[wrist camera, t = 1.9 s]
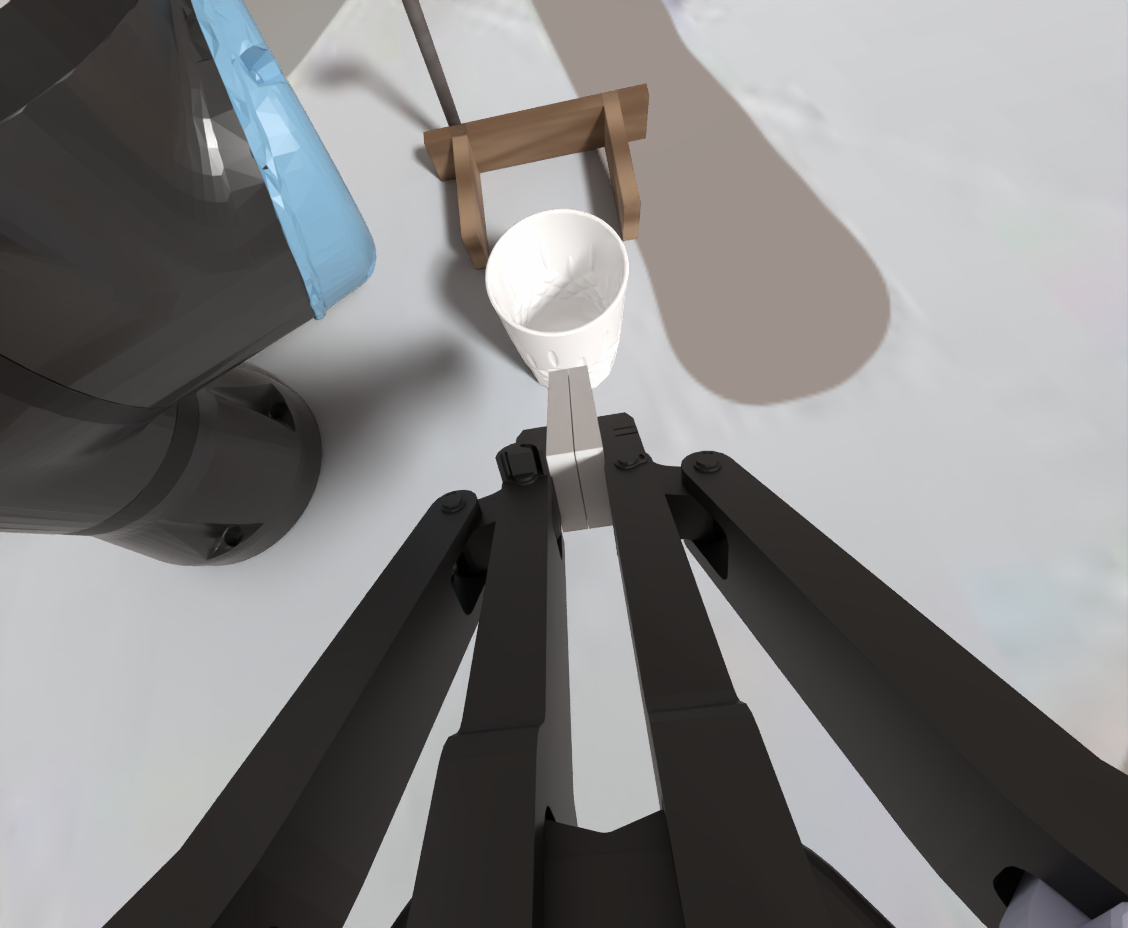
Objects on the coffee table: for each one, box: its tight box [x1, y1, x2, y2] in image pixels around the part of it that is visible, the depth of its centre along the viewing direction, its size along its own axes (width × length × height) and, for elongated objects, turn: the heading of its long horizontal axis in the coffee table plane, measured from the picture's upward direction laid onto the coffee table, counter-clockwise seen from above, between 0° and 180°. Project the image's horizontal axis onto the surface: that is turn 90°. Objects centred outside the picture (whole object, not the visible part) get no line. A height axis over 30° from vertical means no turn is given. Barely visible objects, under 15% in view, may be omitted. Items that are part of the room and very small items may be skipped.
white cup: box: [485, 209, 629, 389], centre depth 29 cm, size 8×8×10 cm
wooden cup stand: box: [402, 0, 649, 269], centre depth 29 cm, size 12×20×16 cm, turn 98°
